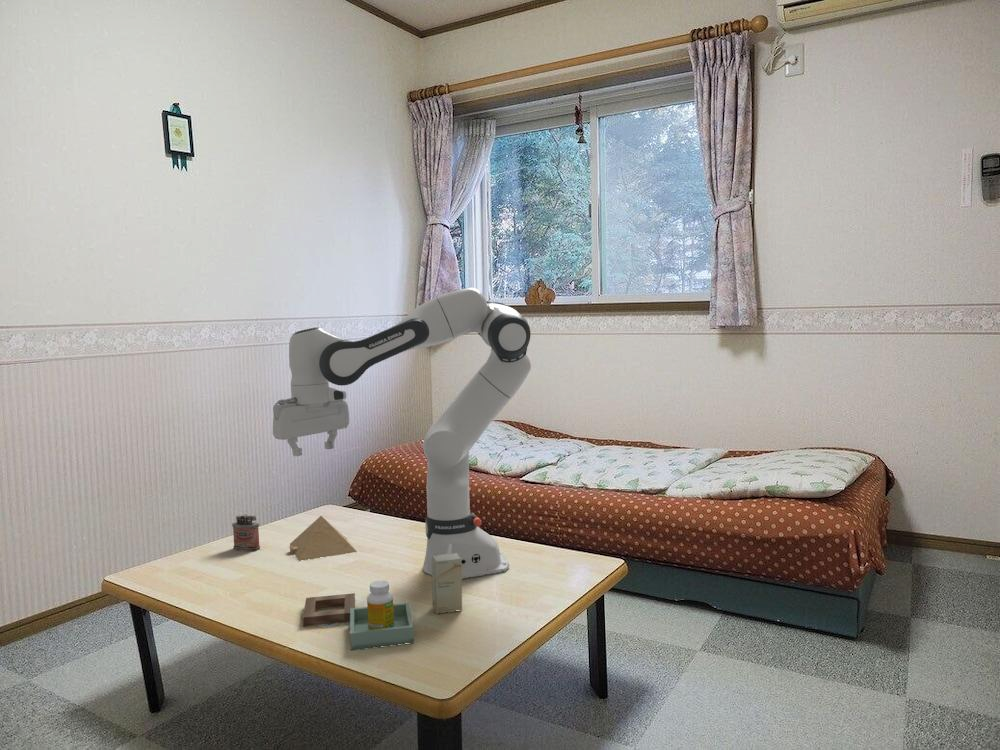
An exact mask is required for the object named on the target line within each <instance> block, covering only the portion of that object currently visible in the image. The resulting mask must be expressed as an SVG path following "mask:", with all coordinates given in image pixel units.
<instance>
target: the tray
mask: <svg viewBox="0 0 1000 750" xmlns="http://www.w3.org/2000/svg"><path fill="white" fill-rule="evenodd" d="M393 608H394V627H392V628H383V629H373V630H369V629H368V611H367V606H363V607H362V606H360V607H359V606H358V607H355V608H350V622H349V625H350V626H349V629H350V630H349V638H350V651H356V650H355V649H360V650H366V649H365V648H369V649H374V648H373V647H378V648H382V647H381V646H387V647H391V646H390V645H396V646H399V645H398V644H405V643H414V644H415V633H414V632H415V631H414V628H415V627H414V622H413V617H412V611H411V607H410V602H401V603H393ZM405 645H406V644H405Z"/></svg>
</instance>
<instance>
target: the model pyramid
mask: <svg viewBox="0 0 1000 750" xmlns="http://www.w3.org/2000/svg"><path fill="white" fill-rule="evenodd" d="M348 541H349V540H348V539H347V538H346V537H345V536H344V534H343V533H341V532H340V531H339V530H338V529H337V528H336V527H334V525H332V524H331V523H330V522H329V521H328V520H327V519H326V518H324V517H323V515H320V516H319V517H318V518H316V520H315V521H313V522H312V523H311V524H310V525H309V526H307V528H306V529H305V530H303V531H302V532H301V533H300V534H299V535H298V536H297V537H295V538H294V540H292V541H291V542H290V543H289V544H290V545H289V551H290V553H291V555H296V556H295V557H296V559H297V558H298V559H297V561H298V560H299V561H298V562H302V561H301V560H304V561H309V560H308V559H310V560H316V559H321V558H320V557H323V558H326V557H327V556H329V557H333V556H339V555H346V553H347V554H353V552H354V553H358V551H357V549H355V547H354V546H353V545H352V544H351V543H350V542H348ZM293 553H295V554H293ZM315 558H316V559H315Z"/></svg>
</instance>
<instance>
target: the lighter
mask: <svg viewBox="0 0 1000 750" xmlns="http://www.w3.org/2000/svg"><path fill="white" fill-rule="evenodd" d="M254 521H255V522H254ZM256 521H257V516H256V515H252V514H251V515H248V514H246V513H245V514H242V515H236V516H235V521H234V522H232V524H231V526H232V532H233V547H232V548H233V550H234V549H236V550H235V551H239V550H244V551H243V552H258V551H260V550H261V545H260V535H259V534H260V532H259V527H260V523H259V522H256ZM257 550H258V551H257Z"/></svg>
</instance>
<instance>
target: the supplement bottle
mask: <svg viewBox="0 0 1000 750" xmlns="http://www.w3.org/2000/svg"><path fill="white" fill-rule="evenodd" d="M366 597H367V598H366V605H367V606H366V607H367V611H368V629H369V630H373V629H383V628H392V627H394V608H393V604H394V596H393V593H392V592H391V591H390V583H389V581H386V580H375V581H372V582H371V583H369V594H368V595H367V596H366Z"/></svg>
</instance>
